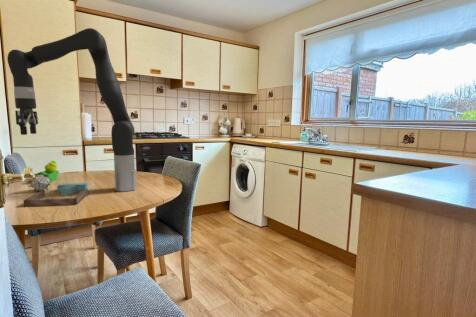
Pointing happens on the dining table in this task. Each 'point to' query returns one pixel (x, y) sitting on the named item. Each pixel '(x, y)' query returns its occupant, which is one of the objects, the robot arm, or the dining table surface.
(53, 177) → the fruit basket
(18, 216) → the dining table surface
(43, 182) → the game die
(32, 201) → the walnut bay
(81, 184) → the teal T block
